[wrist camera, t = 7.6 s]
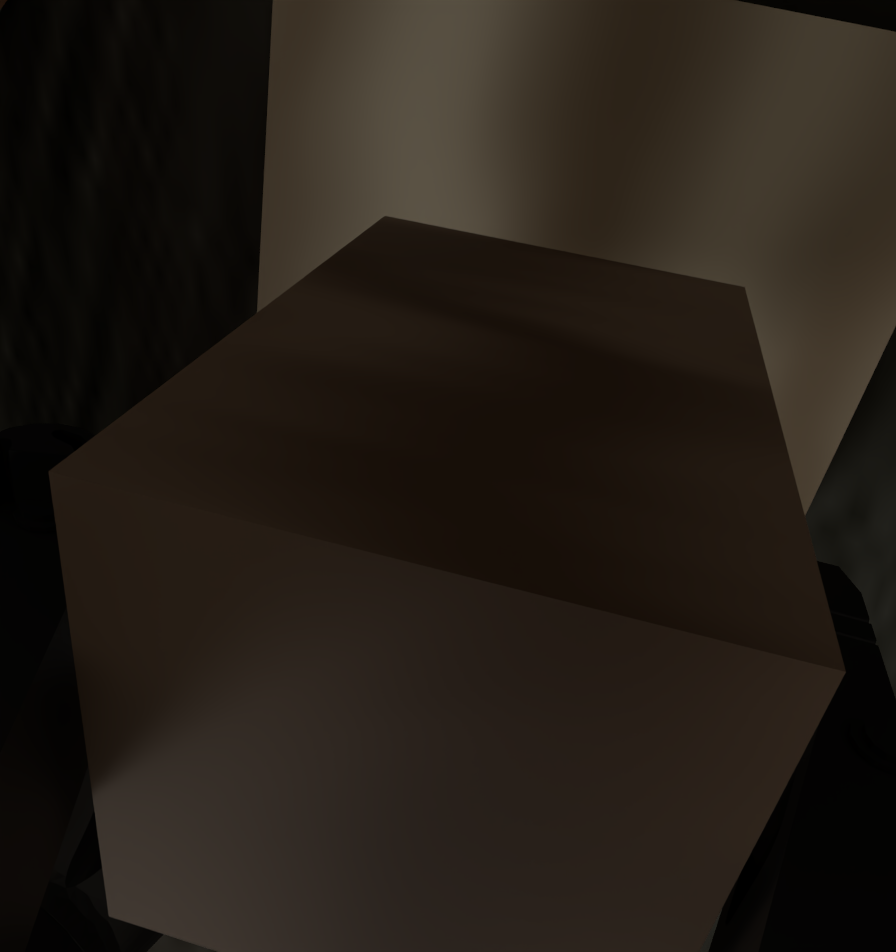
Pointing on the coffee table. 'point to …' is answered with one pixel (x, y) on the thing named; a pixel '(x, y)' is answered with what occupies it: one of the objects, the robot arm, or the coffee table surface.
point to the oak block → (611, 158)
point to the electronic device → (0, 1)
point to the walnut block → (446, 611)
